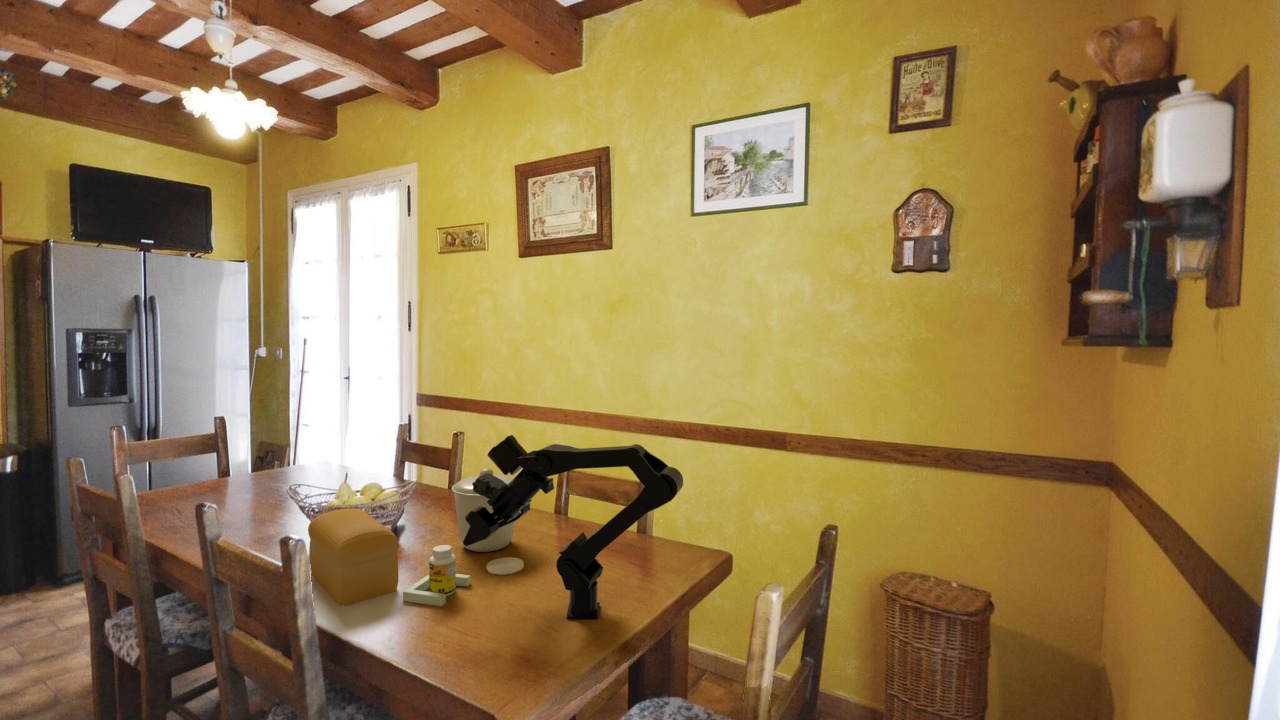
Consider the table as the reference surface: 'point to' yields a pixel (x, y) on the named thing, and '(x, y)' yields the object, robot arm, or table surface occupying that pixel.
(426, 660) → the table surface
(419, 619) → the table surface
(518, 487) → the robot arm
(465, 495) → the canister
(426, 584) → the pale green u-shaped bracket
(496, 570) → the coaster
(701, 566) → the table surface
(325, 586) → the bread
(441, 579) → the supplement bottle
